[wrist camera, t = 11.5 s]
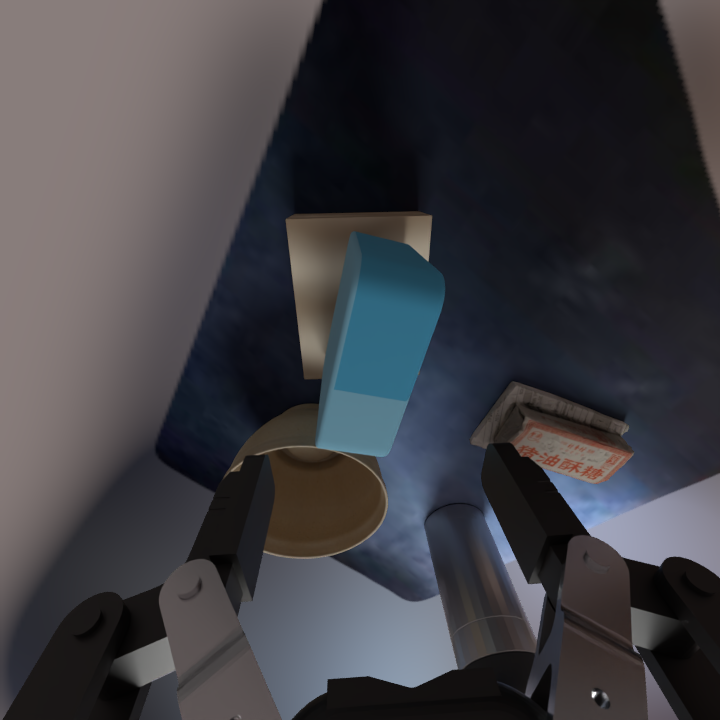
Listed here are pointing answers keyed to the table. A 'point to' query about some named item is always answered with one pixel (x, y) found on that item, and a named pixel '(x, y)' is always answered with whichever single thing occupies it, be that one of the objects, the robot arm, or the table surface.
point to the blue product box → (376, 343)
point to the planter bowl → (315, 488)
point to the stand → (337, 266)
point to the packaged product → (556, 433)
